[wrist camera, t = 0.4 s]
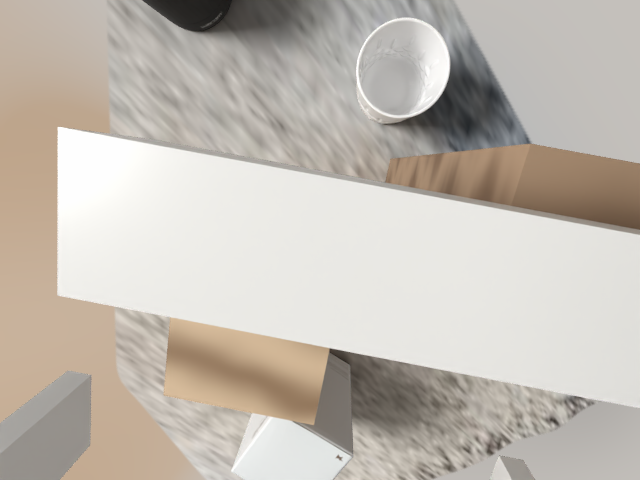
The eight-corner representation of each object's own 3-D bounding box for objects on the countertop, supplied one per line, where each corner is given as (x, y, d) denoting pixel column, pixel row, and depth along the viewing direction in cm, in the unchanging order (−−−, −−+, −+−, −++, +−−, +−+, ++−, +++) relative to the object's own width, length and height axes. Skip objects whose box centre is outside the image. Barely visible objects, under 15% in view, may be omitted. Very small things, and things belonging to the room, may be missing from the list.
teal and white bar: (146, 274, 12) (-7, 360, 7) (157, 114, 11) (-21, 66, 6) (861, 411, 12) (1301, 619, 6) (957, 262, 11) (1602, 364, 5)
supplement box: (296, 329, 45) (276, 407, 31) (351, 364, 46) (357, 457, 32) (262, 378, 47) (227, 473, 33) (315, 410, 48) (304, 518, 33)
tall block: (390, 158, 40) (530, 143, 11) (507, 180, 40) (980, 225, 10) (375, 224, 42) (461, 365, 12) (488, 245, 41) (843, 439, 12)
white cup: (433, 70, 38) (466, 37, 28) (405, 139, 39) (426, 131, 30) (367, 44, 37) (377, 2, 28) (342, 115, 39) (342, 99, 29)
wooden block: (242, 250, 43) (170, 314, 25) (334, 267, 43) (330, 345, 25) (236, 300, 45) (163, 395, 26) (324, 317, 45) (313, 425, 26)
